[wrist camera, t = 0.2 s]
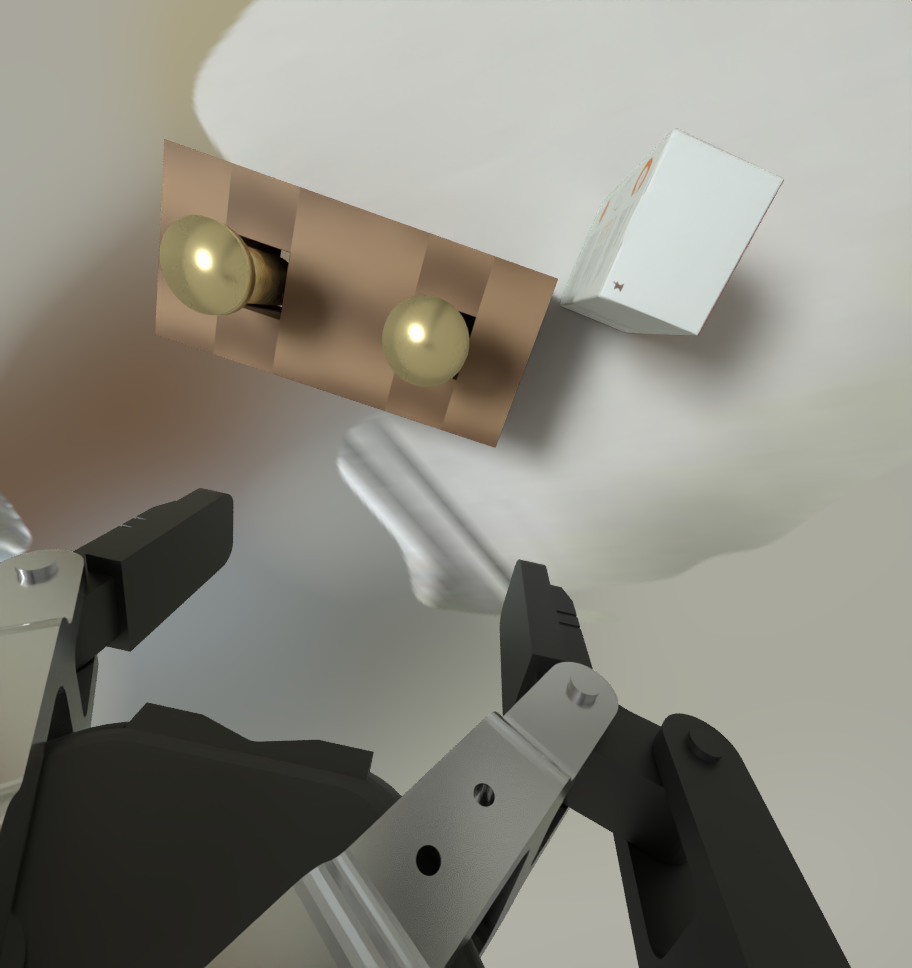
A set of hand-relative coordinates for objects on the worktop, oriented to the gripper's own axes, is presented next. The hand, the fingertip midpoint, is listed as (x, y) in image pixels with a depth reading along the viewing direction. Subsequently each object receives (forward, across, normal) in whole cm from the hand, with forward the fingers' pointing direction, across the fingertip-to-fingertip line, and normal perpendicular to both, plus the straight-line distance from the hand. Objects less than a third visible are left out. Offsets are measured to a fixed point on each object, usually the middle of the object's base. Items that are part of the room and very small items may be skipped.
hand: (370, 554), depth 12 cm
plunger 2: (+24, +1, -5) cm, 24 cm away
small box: (+29, -11, -12) cm, 33 cm away
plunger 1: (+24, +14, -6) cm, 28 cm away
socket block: (+29, +8, -5) cm, 30 cm away
